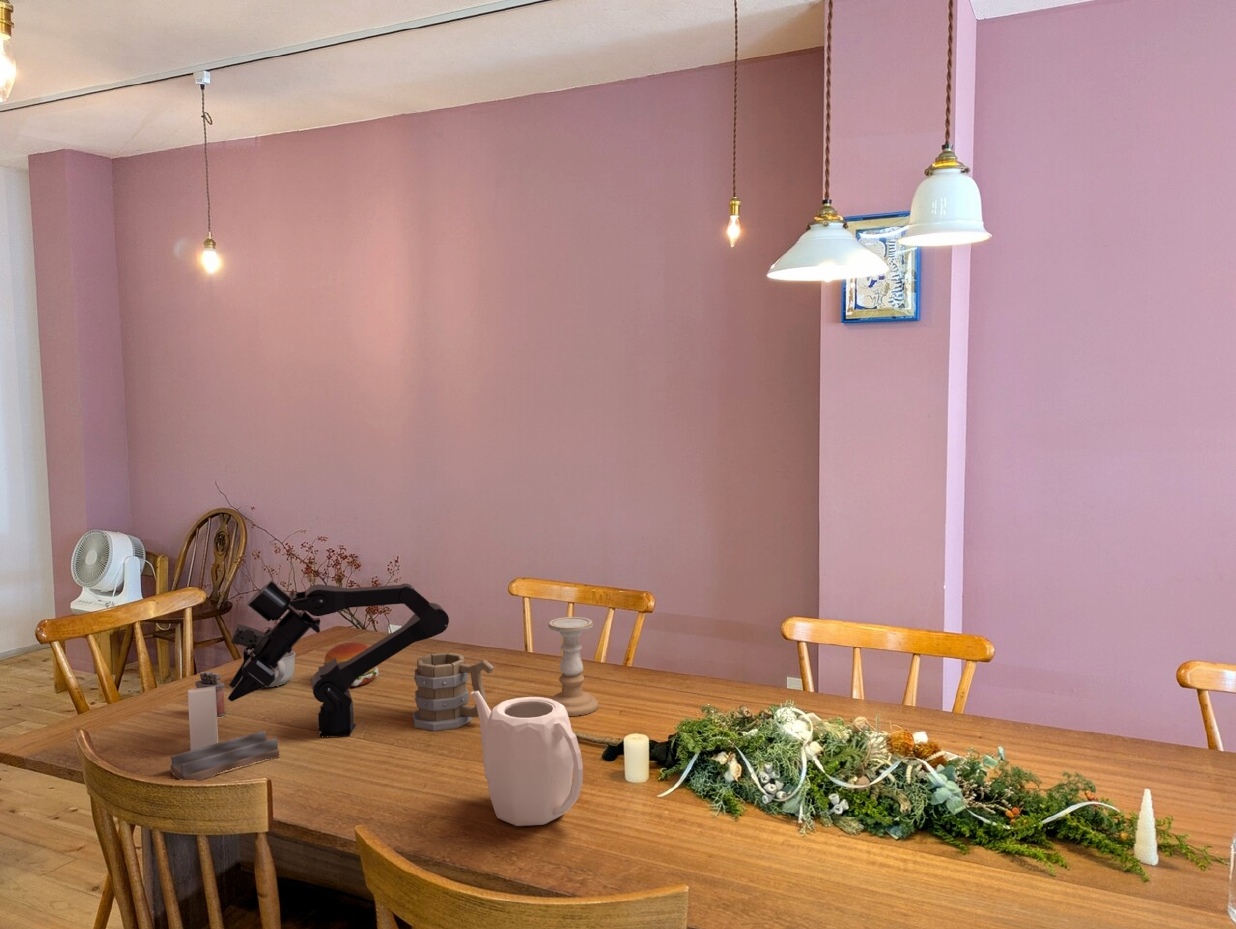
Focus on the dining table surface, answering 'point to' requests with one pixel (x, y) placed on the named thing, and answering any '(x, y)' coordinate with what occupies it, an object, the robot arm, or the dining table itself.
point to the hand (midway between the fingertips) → (230, 693)
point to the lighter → (212, 680)
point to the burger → (348, 652)
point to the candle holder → (573, 667)
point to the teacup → (284, 669)
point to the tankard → (446, 691)
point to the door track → (223, 756)
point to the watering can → (529, 759)
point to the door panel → (202, 717)
